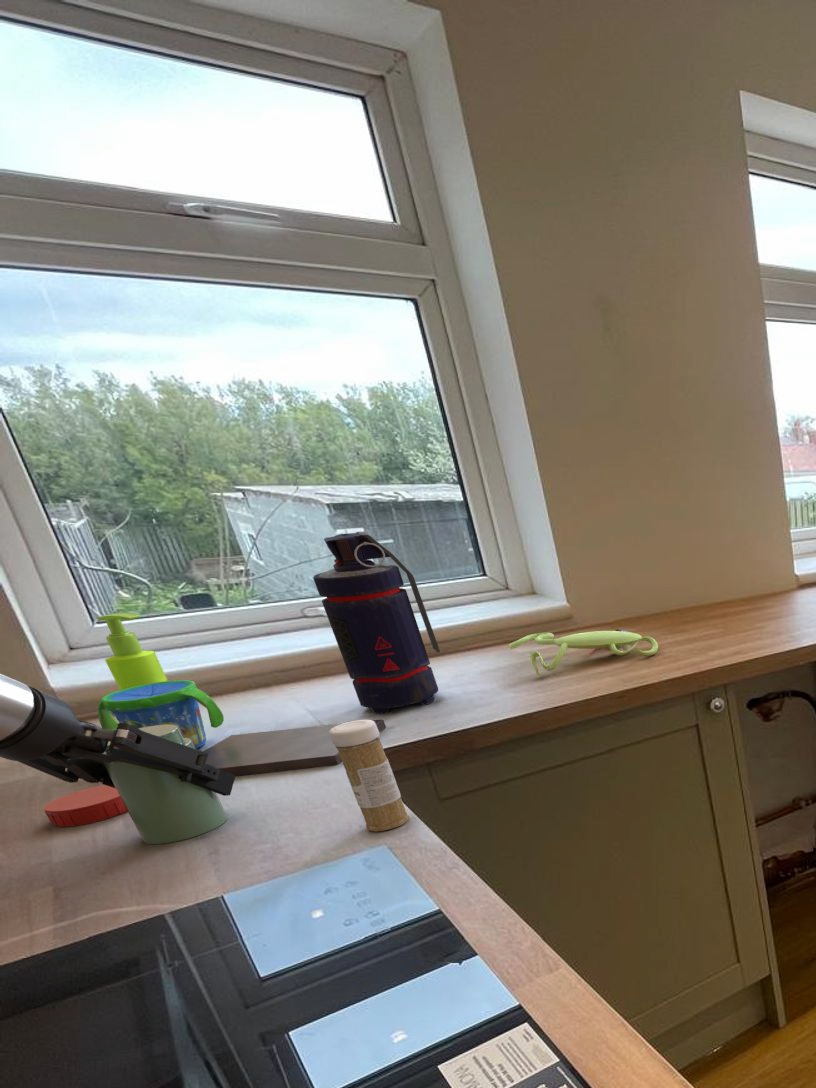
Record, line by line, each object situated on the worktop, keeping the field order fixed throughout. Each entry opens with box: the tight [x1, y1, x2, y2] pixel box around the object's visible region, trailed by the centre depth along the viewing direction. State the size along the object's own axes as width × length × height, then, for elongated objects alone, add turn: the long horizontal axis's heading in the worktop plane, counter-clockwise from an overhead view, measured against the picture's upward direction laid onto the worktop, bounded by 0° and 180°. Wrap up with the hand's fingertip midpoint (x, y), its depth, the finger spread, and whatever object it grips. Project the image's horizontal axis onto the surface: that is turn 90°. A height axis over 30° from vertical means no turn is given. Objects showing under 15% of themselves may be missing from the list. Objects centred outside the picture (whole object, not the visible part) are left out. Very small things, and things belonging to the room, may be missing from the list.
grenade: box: [312, 531, 441, 715], centre depth 142 cm, size 14×12×30 cm
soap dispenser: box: [96, 612, 169, 690], centre depth 136 cm, size 6×7×20 cm
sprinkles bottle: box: [329, 719, 410, 832], centre depth 99 cm, size 5×5×13 cm
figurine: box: [508, 628, 659, 678], centre depth 169 cm, size 18×27×6 cm
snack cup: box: [97, 679, 225, 749], centre depth 128 cm, size 16×10×10 cm
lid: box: [43, 784, 128, 828], centre depth 109 cm, size 9×9×2 cm
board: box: [202, 718, 387, 777], centre depth 126 cm, size 22×16×2 cm
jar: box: [102, 725, 228, 845], centre depth 101 cm, size 8×8×13 cm
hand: (194, 788), depth 105 cm, fingers closed on jar, 8 cm apart
